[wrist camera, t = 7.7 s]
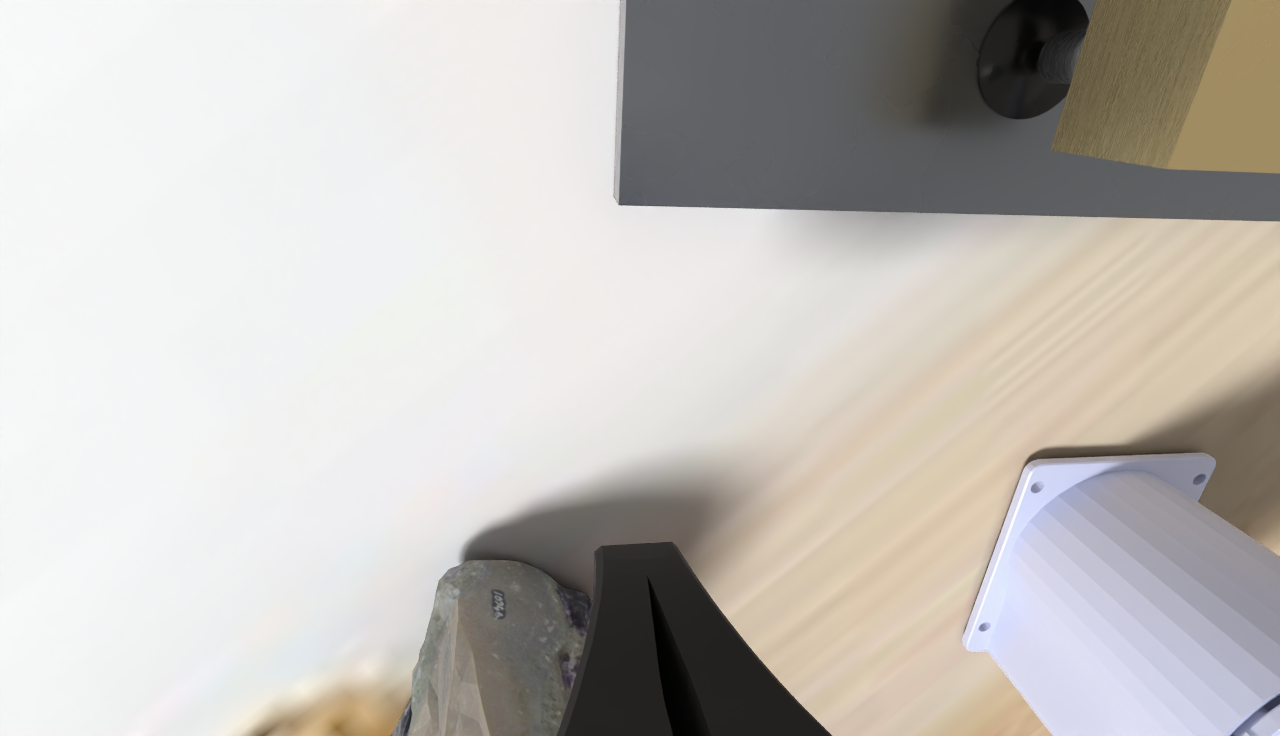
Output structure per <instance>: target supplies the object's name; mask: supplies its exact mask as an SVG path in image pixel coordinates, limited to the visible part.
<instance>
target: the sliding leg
mask: <svg viewBox="0 0 1280 736" xmlns="http://www.w3.org/2000/svg"><path fill="white" fill-rule="evenodd" d="M1038 72H1039V74H1040V76H1041V78H1042V79H1043V80H1044V81H1046V82H1048V83H1053V84H1070V87H1069V90H1068V93H1067V97H1066V100H1065V103H1064V106H1063V110H1062V113H1061V116H1060V119H1059V123H1058V126H1057V129H1056V133H1055V136H1054V139H1053V142H1052V146H1051V149H1050V150H1053V151H1059V152H1065V153H1071V154H1078V155H1084V156H1090V157H1096V158H1102V159H1108V160H1114V161H1120V162H1126V163H1133V164H1139V165H1145V166H1151V167H1157V168H1163V169H1177V170H1203V171H1229V172H1255V173H1280V0H1096V2H1095V5H1094V8H1093V12H1092V15H1091V18H1090V21H1089V25H1088V28H1087V29H1078V30H1064V31H1060V32H1058V33H1056V34H1054V35H1053V36H1051V37H1050V38H1049V39H1048V40H1047V41H1046V43H1045V44H1044V45H1043V47H1042V49H1041V51H1040V54H1039V57H1038Z"/></svg>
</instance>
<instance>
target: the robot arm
mask: <svg viewBox="0 0 1280 736" xmlns="http://www.w3.org/2000/svg"><path fill="white" fill-rule="evenodd" d="M1215 466H1216V460H1215V459H1214V458H1213V457H1212V456H1210V455H1208V454H1206V453H1202V452H1200V453H1176V454H1151V455H1127V456H1102V457H1078V458H1053V459H1037V460H1033V461H1031V462H1030V463H1028V464H1027V465H1026V466H1025V468H1024V470H1023V472H1022V475H1021V478H1020V480H1019V483H1018V486H1017V489H1016V491H1015V494H1014V497H1013V500H1012V503H1011V505H1010V508H1009V511H1008V514H1007V516H1006V519H1005V522H1004V525H1003V527H1002V530H1001V533H1000V536H999V538H998V541H997V544H996V547H995V550H994V552H993V555H992V558H991V561H990V563H989V566H988V569H987V572H986V574H985V577H984V580H983V583H982V585H981V588H980V591H979V594H978V597H977V599H976V602H975V605H974V608H973V610H972V613H971V616H970V619H969V621H968V624H967V627H966V630H965V632H964V635H963V638H962V643H963V645H964V646H965V647H966V649H967V650H968V651H970V652H981V651H988V652H989V654H990V655H991V656H992V658H993V659H994V660H995V661H996V663H997V664H998V665H999V667H1000V668H1001V669H1002V671H1003V672H1004V673H1005V674H1006V676H1007V677H1008V678H1009V680H1010V681H1011V682H1012V684H1013V685H1014V686H1015V687H1016V689H1017V690H1018V691H1019V693H1020V694H1021V695H1022V697H1023V698H1024V699H1025V700H1026V702H1027V703H1028V704H1029V706H1030V707H1031V708H1032V710H1033V711H1034V712H1035V713H1036V715H1037V716H1038V717H1039V719H1040V720H1041V721H1042V722H1043V724H1044V725H1045V726H1046V728H1047V729H1048V730H1049V732H1050V733H1051V734H1052V735H1053V736H1280V556H1279V555H1277V554H1276V553H1274V552H1273V551H1271V550H1270V549H1268V548H1267V547H1265V546H1264V545H1262V544H1261V543H1259V542H1257V541H1256V540H1254V539H1253V538H1251V537H1250V536H1248V535H1247V534H1245V533H1244V532H1242V531H1241V530H1239V529H1238V528H1236V527H1235V526H1233V525H1232V524H1230V523H1229V522H1227V521H1226V520H1224V519H1223V518H1221V517H1220V516H1218V515H1217V514H1215V513H1214V512H1212V511H1210V510H1209V509H1207V508H1206V507H1204V506H1203V505H1201V504H1200V503H1198V500H1199V498H1200V496H1201V494H1202V492H1203V491H1204V489H1205V487H1206V485H1207V483H1208V481H1209V479H1210V477H1211V475H1212V473H1213V471H1214V469H1215ZM557 736H832V735H831V734H830V733H829V732H828V731H827V730H826V729H825V728H824V727H823V726H822V725H821V724H820V723H819V722H818V721H817V720H816V719H815V718H814V717H813V716H812V715H811V714H810V713H809V712H808V711H807V710H806V709H805V708H804V707H803V706H802V705H801V704H800V703H799V702H798V701H797V700H796V699H795V698H794V697H793V696H792V695H791V694H790V693H789V691H788V690H787V689H786V688H785V687H784V686H783V685H782V684H781V683H780V682H779V681H778V679H777V678H776V677H775V676H774V675H773V674H772V673H771V671H770V670H769V669H768V668H767V667H766V666H765V665H764V664H763V662H762V661H761V660H760V659H759V658H758V657H757V655H756V654H755V653H754V652H753V651H752V649H751V648H750V647H749V646H748V645H747V643H746V642H745V641H744V640H743V638H742V637H741V636H740V635H739V633H738V632H737V631H736V630H735V628H734V627H733V626H732V624H731V623H730V622H729V621H728V619H727V618H726V617H725V616H724V614H723V613H722V612H721V610H720V609H719V608H718V606H717V605H716V604H715V602H714V601H713V600H712V598H711V597H710V595H709V594H708V592H707V591H706V590H705V588H704V587H703V585H702V584H701V583H700V581H699V580H698V578H697V577H696V575H695V574H694V572H693V571H692V569H691V568H690V566H689V565H688V563H687V562H686V560H685V559H684V557H683V556H682V554H681V552H680V551H679V549H678V547H677V546H676V545H674V544H673V543H672V542H663V543H645V544H628V545H610V546H601V547H600V548H598V549H597V550H596V551H595V553H594V589H593V606H592V612H591V616H590V621H589V626H588V631H587V635H586V640H585V645H584V649H583V653H582V656H581V660H580V663H579V667H578V670H577V674H576V677H575V681H574V684H573V688H572V691H571V695H570V698H569V701H568V704H567V707H566V710H565V713H564V716H563V719H562V722H561V725H560V728H559V730H558V733H557Z"/></svg>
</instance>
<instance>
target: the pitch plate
mask: <svg viewBox="0 0 1280 736" xmlns="http://www.w3.org/2000/svg"><path fill="white" fill-rule="evenodd" d="M1095 2H1096V0H620V22H619V52H618V82H617V111H616V141H615V171H614V198H615V200H616V201H617V203H618V205H632V206H673V207H713V208H754V209H795V210H836V211H876V212H917V213H958V214H998V215H1039V216H1080V217H1121V218H1161V219H1202V220H1243V221H1280V173H1255V172H1229V171H1203V170H1177V169H1163V168H1157V167H1151V166H1145V165H1139V164H1133V163H1126V162H1120V161H1114V160H1108V159H1102V158H1096V157H1090V156H1084V155H1078V154H1071V153H1065V152H1059V151H1053V150H1050V149H1051V146H1052V142H1053V139H1054V136H1055V133H1056V129H1057V126H1058V123H1059V119H1060V116H1061V113H1062V110H1063V106H1064V103H1065V100H1066V97H1067V93H1068V90H1069V87H1070V84H1053V83H1048V82H1046V81H1044V80H1043V79H1042V78H1041V76H1040V74H1039V72H1038V57H1039V54H1040V51H1041V49H1042V47H1043V45H1044V44H1045V43H1046V41H1047V40H1048V39H1049V38H1050V37H1051V36H1053V35H1054V34H1056V33H1058V32H1060V31H1064V30H1078V29H1087V28H1088V25H1089V21H1090V18H1091V15H1092V12H1093V8H1094V5H1095Z"/></svg>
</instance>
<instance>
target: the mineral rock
mask: <svg viewBox="0 0 1280 736" xmlns="http://www.w3.org/2000/svg"><path fill="white" fill-rule="evenodd" d="M592 606H593V602H592V601H591V599H590V598H589V596H588V595H587V594H584V593H582V592H580V591H577V590H573V589H566V588H564V587H562V586H560V585H559V584H558V583H557V582H556V581H555V580H554V579H552V578H551V577H550V576H549V575H547V574H546V573H544V572H543V571H541V570H540V569H538V568H535V567H533V566H530V565H528V564H525V563H523V562H518V561H508V560H468V561H466V562H465V563H463V564H461V565H459V566H457V567H454V568H451V569H449V570H448V571H447V572H446V573H445V575H444V576H443V577H442V578H441V579H440V580H439V583H438V587H437V591H436V596H435V602H434V608H433V611H432V615H431V618H430V622H429V625H428V629H427V634H426V638H425V641H424V643H423V645H422V647H421V649H420V654H419V661H418V663H417V665H416V667H415V668H414V670H413V681H412V696H411V699H410V701H409V704H408V706H407V708H406V709H405V711H404V713H403V715H402V717H401V718H400V720H399V722H398V724H397V726H396V730H395V731H394V732H393V733H392V734H391V735H390V736H557V733H558V730H559V728H560V725H561V722H562V719H563V716H564V713H565V710H566V707H567V704H568V701H569V698H570V695H571V691H572V688H573V684H574V681H575V677H576V674H577V670H578V667H579V663H580V660H581V656H582V653H583V649H584V645H585V640H586V635H587V631H588V626H589V621H590V616H591V612H592Z"/></svg>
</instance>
